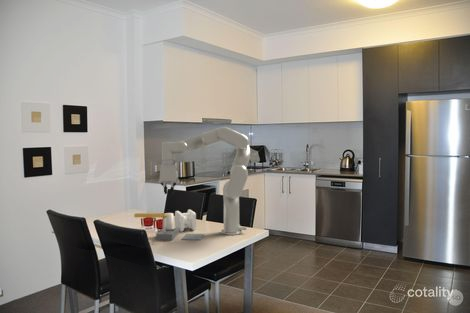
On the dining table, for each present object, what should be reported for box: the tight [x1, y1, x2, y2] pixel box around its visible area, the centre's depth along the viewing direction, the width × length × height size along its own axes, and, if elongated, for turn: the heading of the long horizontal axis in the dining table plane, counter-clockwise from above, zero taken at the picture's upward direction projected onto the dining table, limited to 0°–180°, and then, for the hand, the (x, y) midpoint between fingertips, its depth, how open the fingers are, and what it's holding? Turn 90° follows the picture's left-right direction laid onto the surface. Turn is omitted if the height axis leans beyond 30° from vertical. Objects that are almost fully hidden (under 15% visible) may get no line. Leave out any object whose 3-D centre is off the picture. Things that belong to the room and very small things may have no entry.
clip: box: [134, 212, 167, 218], centre depth 214 cm, size 3×18×2 cm, turn 89°
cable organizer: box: [174, 209, 197, 233], centre depth 239 cm, size 15×11×12 cm
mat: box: [180, 233, 205, 241], centre depth 221 cm, size 11×12×1 cm
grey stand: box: [155, 217, 180, 241], centre depth 222 cm, size 9×16×13 cm, turn 174°
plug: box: [166, 212, 176, 231], centre depth 225 cm, size 6×6×13 cm
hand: (168, 193), depth 224 cm, fingers open, 2 cm apart
